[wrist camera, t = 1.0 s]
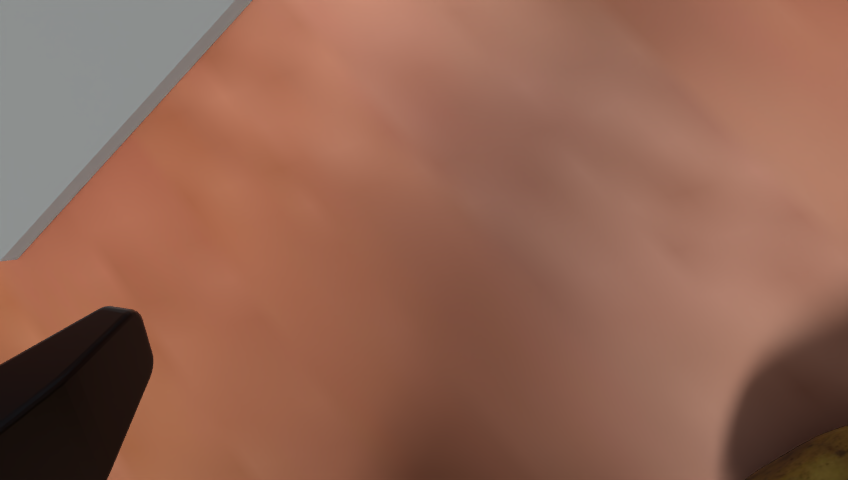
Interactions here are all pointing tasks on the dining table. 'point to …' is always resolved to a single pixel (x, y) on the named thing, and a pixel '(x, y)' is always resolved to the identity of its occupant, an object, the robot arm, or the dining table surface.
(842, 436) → the potato
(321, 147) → the dining table surface
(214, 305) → the dining table surface
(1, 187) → the rubber mat
